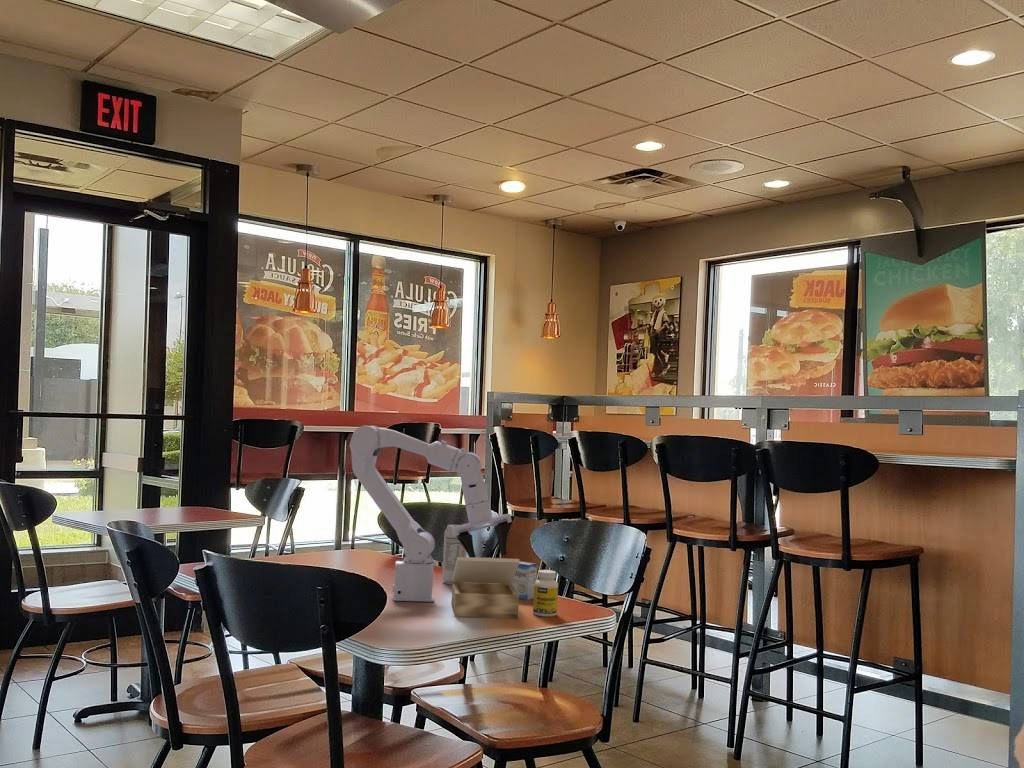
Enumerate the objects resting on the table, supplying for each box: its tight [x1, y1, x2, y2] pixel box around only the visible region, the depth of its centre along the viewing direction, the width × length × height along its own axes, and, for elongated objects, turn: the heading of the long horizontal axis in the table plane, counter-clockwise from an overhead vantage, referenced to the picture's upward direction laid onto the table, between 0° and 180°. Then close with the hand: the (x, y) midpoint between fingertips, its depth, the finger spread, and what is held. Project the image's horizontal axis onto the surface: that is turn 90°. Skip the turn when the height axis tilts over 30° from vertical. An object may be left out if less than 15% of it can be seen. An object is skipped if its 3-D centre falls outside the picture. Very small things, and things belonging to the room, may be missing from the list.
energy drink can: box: [441, 524, 467, 585], centre depth 249 cm, size 6×6×15 cm
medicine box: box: [512, 561, 538, 601], centre depth 234 cm, size 8×4×9 cm, turn 62°
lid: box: [453, 556, 521, 584], centre depth 216 cm, size 14×14×1 cm
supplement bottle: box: [532, 569, 559, 617], centre depth 214 cm, size 5×5×10 cm
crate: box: [450, 582, 520, 619], centre depth 215 cm, size 14×14×5 cm
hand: (489, 558), depth 224 cm, fingers open, 7 cm apart
